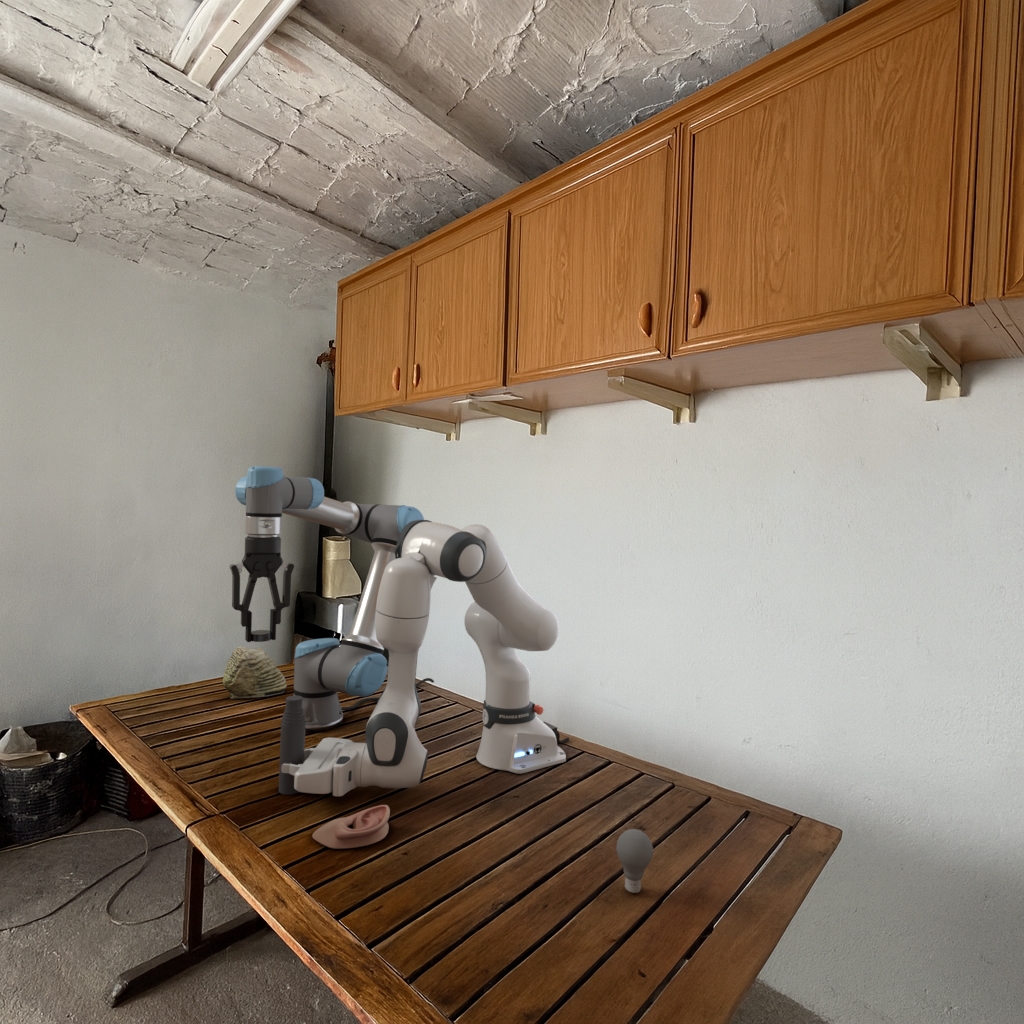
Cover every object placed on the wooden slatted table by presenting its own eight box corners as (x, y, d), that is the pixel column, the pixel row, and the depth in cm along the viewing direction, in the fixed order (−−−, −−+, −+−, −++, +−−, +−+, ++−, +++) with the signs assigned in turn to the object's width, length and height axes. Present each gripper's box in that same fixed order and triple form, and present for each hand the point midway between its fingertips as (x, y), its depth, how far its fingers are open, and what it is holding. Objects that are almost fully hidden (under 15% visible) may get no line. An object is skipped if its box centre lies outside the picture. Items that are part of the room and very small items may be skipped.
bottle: (300, 794, 134) (303, 701, 134) (275, 794, 134) (279, 701, 133) (305, 784, 139) (308, 694, 139) (281, 784, 139) (285, 694, 138)
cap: (257, 636, 144) (257, 629, 144) (275, 638, 144) (276, 630, 144) (245, 640, 140) (245, 633, 140) (264, 642, 139) (264, 635, 139)
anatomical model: (304, 822, 115) (334, 794, 126) (303, 844, 115) (333, 813, 126) (372, 833, 112) (397, 803, 124) (371, 855, 113) (396, 823, 124)
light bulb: (610, 879, 108) (613, 822, 108) (644, 879, 109) (647, 822, 109) (619, 902, 102) (622, 840, 102) (655, 901, 103) (658, 840, 103)
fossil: (218, 695, 195) (220, 647, 195) (278, 685, 208) (279, 640, 207) (228, 703, 189) (230, 653, 188) (289, 692, 201) (290, 645, 201)
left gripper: (223, 537, 133) (220, 647, 134) (307, 536, 143) (304, 639, 143) (218, 534, 140) (215, 639, 140) (299, 534, 149) (296, 632, 150)
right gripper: (364, 731, 147) (304, 729, 147) (339, 769, 126) (270, 766, 126) (362, 758, 147) (303, 756, 147) (338, 800, 126) (269, 797, 126)
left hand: (260, 639), depth 142 cm, fingers closed on cap, 4 cm apart
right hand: (287, 761), depth 136 cm, fingers closed on bottle, 5 cm apart
